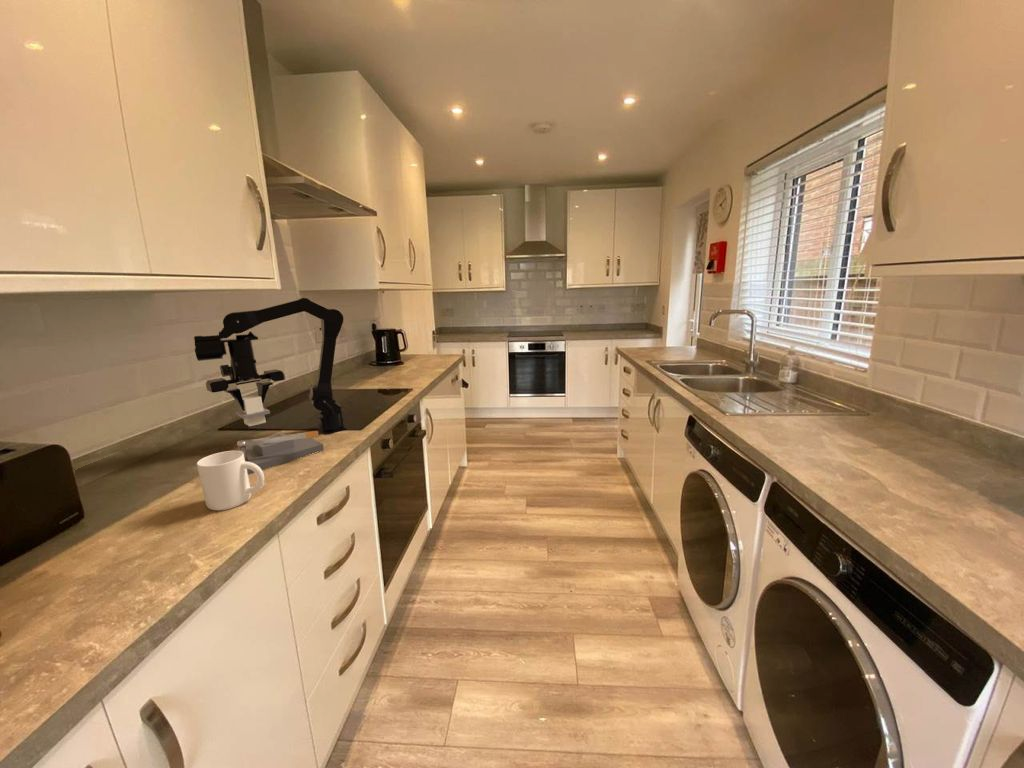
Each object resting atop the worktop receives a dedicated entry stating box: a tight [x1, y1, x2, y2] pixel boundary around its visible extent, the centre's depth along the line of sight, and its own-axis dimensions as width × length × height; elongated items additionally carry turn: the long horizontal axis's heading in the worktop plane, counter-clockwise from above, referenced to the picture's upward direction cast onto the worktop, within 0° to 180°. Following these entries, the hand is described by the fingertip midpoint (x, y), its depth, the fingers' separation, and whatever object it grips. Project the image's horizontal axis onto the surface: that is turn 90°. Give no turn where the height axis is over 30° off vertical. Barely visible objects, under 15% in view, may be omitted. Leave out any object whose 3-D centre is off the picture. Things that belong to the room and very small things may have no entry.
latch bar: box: [236, 430, 319, 448], centre depth 108 cm, size 19×2×1 cm, turn 110°
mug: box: [196, 450, 265, 512], centre depth 88 cm, size 12×8×10 cm
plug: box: [236, 394, 271, 427], centre depth 121 cm, size 7×7×8 cm
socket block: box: [237, 432, 325, 476], centre depth 113 cm, size 20×15×6 cm
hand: (252, 408), depth 120 cm, fingers closed on plug, 4 cm apart
